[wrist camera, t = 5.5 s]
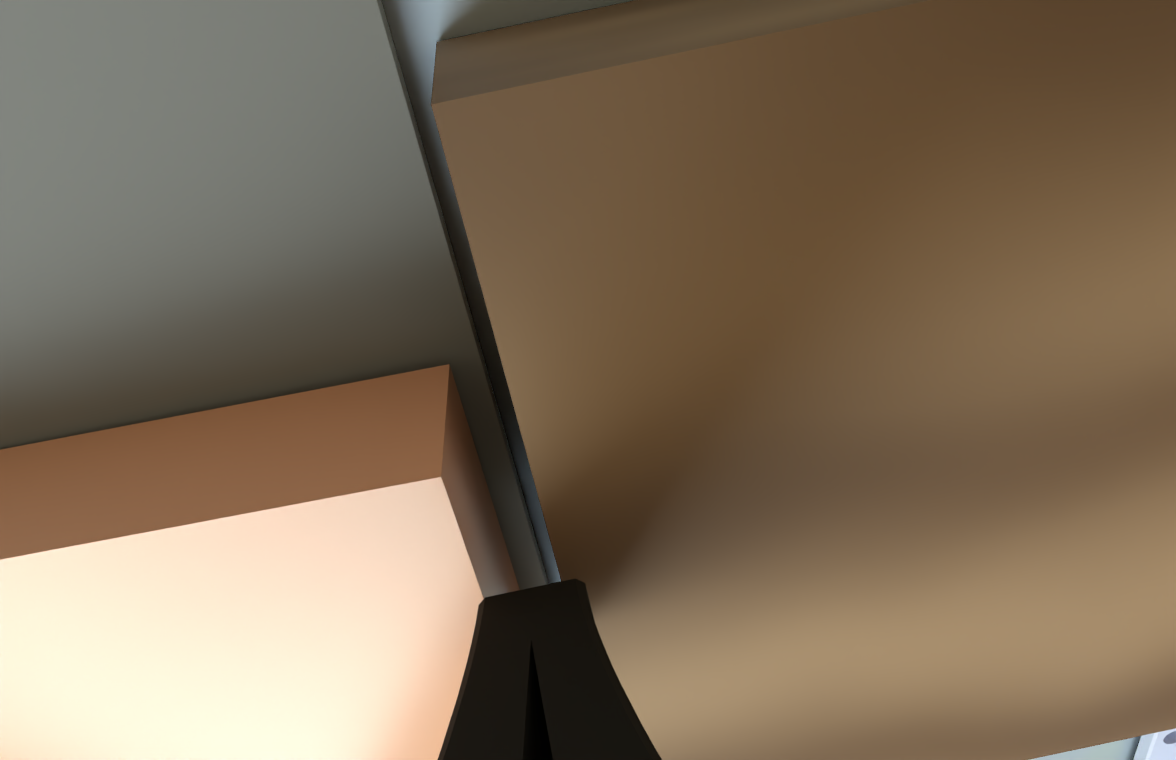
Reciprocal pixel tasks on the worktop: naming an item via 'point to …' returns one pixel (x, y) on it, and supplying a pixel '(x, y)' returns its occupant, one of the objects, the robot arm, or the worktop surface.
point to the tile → (248, 579)
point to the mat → (222, 221)
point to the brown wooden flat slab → (844, 358)
